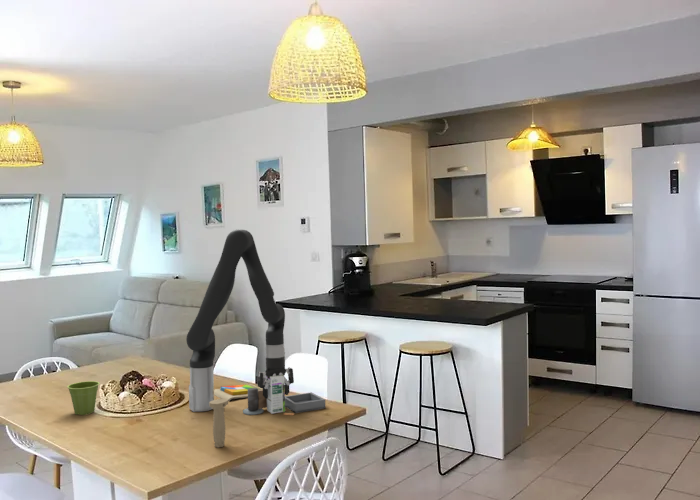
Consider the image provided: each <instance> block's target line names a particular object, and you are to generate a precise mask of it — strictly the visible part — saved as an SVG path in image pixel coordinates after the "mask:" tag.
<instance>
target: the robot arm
mask: <svg viewBox="0 0 700 500" xmlns="http://www.w3.org/2000/svg"><path fill="white" fill-rule="evenodd" d="M241 259H242V261H243V262H244V265H245V267H246V270H247V275H248V280H249V283H250V286H251V289H252V290H253V293H254V295H255V297H256V299H257V303H258V306H259V310H260V314H261V316H262V318H263V320H264V321H265V322H266V323H268V324H267V330H266V332H265V348H264V349H265V353H264V354H265V370H264V371H258V373H257V387H259V388H262V389H263V396H264V397H265V398H268V389H267V387H268V386H269V384H270V379H269V380H267V379H268V378H270V376H272V377H274V376H276V375H280V376H281V375H284V381H285V396H289V394H290V385H291V384H294V383H295V382H294V381H295V379H294V369H293V368H292V367H287V368H286V352H285V343H284V341H285V339H284V329H285V323H286V322H285V321H286V313H285V308H284V306H282V305H281V304H279V303H276V301H275V298H274V296H275V292H274V289H273V287H272V286H271V283H270V281H269V279H268V276H267V274H266V272H265V270H264V267H263V265H262V262H261V260H260V256H259V254H258V250H257V246H256V243H255V239H254V236H253V234H252V233H251V232H250V231H248V230H245V229H233V230H231V231H230V232H229V233H228V234H227V236H226V239H225V241H224V245H223V249H222V252H221V256H220V258H219V261H218V264H217V265H216V268H215V270H214V272H213V275H212V277H211V279H210V281H209V283H208V286H207V289H206V292H205V294H204V297H203V299H202V302H201V305H200V307H199V310H198V313H197V315H196V317H195V319H194V321H193V323H192V324H191V326H190V329H189V330H188V331H187V334H186V338H185V339H186V344H187V347H188V348H189V350H191V351H192V355H191V357H190V359H189V384H188V409H190V410H191V412H193V413H194V412H208V411H211V410H214V409H213V408H211V407H210V406H209V402H210V401H213V400H215V395H214V389H215V388H214V387H215V382H214V381H215V380H214V377H215V376H214V360H215V355H216V336H215V332H214V330H213V326H214V323H215V321H216V320H217V318H218V317H219V315H220V314H221V312H222V311H223V309H224V308H225V307H226V305H227V304H228V301H229V300H230V298H231V297H230V296H231V294H232V292H233V289H234V285H235V281H236V279H235V278H236V271H237V267H238V264H239V262H240V260H241ZM286 374H287V376H288V377H287V378H288V379H287V378H286V377H285V375H286ZM266 376H267V378H266ZM264 378H265V380H264Z"/></svg>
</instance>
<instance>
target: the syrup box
mask: <svg viewBox="0 0 700 500" xmlns="http://www.w3.org/2000/svg"><path fill="white" fill-rule="evenodd" d="M284 377H285V375H281V376H280V375H276V376H274V377H272V376H270V378H268V379H267V380H269V379H270V384H269V386H268V387H267V389H268V398H267V408H266V410H267V412H269V413H270V414H271V415H273V414H279V413H286V407H285V396H286V395H285V381H284ZM266 378H267V376H266V375H265V379H266Z"/></svg>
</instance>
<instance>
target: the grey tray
mask: <svg viewBox="0 0 700 500" xmlns="http://www.w3.org/2000/svg"><path fill="white" fill-rule="evenodd" d="M285 409H287V410H290V411H291V412H292V413H294V414H300V413H305V412H311V411H317V410H322V409H326V399H325V398H323V397H321V396H319V395H318V394H315V393H314V392H311V391H310V392H305V393H298V394H291V395H285Z"/></svg>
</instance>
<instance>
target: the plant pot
mask: <svg viewBox="0 0 700 500" xmlns="http://www.w3.org/2000/svg"><path fill="white" fill-rule="evenodd" d="M100 384H101V383H100V382H99V381H96V380H95V381H94V380H87V381H79V382H75V383H70V384H69V385H66V388H67V389H68V391H69V394H70V398H71V402H72V403H71V404H72V406H73V412H74V414H75V415H80V416H85V415H90V414H92V413H94V412H95V409H96V402H97V394H98V390H99V385H100Z"/></svg>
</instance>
